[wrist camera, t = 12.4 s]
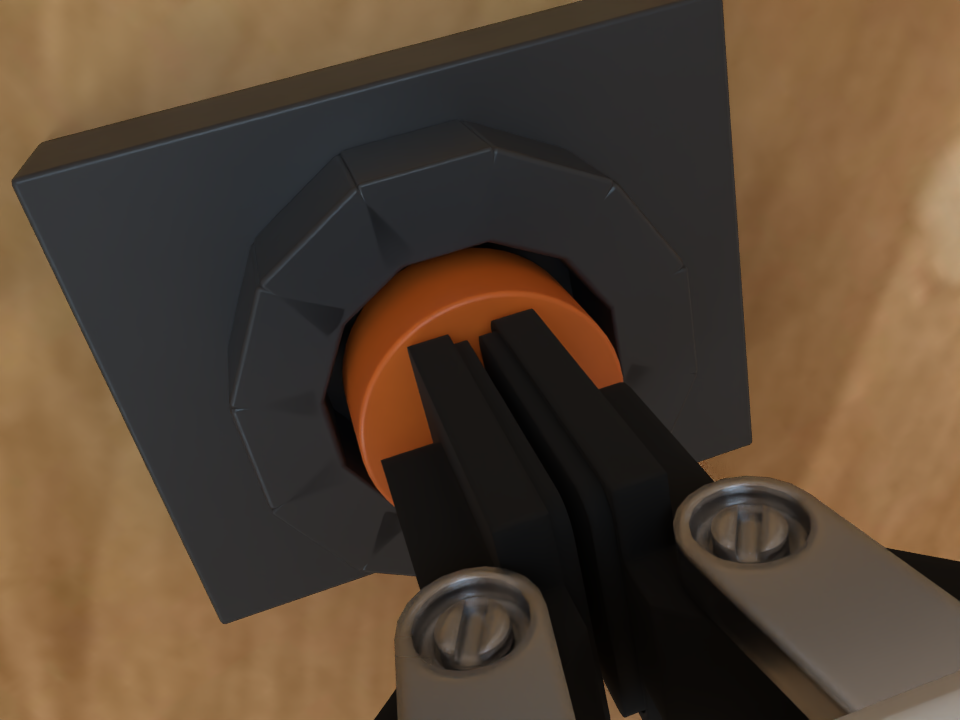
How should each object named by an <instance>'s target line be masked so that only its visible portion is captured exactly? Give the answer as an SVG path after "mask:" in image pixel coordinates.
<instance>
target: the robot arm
mask: <svg viewBox="0 0 960 720" xmlns="http://www.w3.org/2000/svg"><path fill="white" fill-rule="evenodd" d="M491 331H492V332H491V333H488V334H484V335H481V336H479V345H480V350H481V354H482V358H483V363H484V367H485V368H484V367H483V365H482V363H481V362H480V360H479V358H478V357H477V355H476V353H475V352H474V350H473V348H472V347H471V345H470V343H469V342H468V340H465V341H462V342H459V343H455V344H454V343H453V342H452V340H451V338H450V336H449V335H448V334H447V335H444V336H441V337H437V338H434V339H431V340H428V341H425V342H421V343H418V344H415V345H412V346H408V347H407V350H408V354H409V358H410V362H411V365H412V369H413V372H414V376H415V379H416V383H417V387H418V390H419V394H420V397H421V401H422V404H423V408H424V412H425V415H426V419H427V422H428V426H429V429H430V433H431V437H432V440H433V443H432V444H429V445H426V446H423V447H419V448H416V449H413V450H410V451H407V452H404V453H401V454H398V455H395V456H392V457H389V458H386V459H383V460H381V463H382V467H383V470H384V473H385V476H386V480H387V483H388V486H389V490H390V493H391V496H392V499H393V503H394V506H395V509H396V512H397V516H398V519H399V522H400V525H401V529H402V532H403V535H404V538H405V542H406V545H407V548H408V552H409V555H410V558H411V561H412V565H413V568H414V571H415V574H416V578H417V581H418V584H419V587H420V591H419V592H418V593H417V594H416V595H415V596H414V597H413V598H412V599H411V600H410V601H409V602H408V603H407V605H406V607H405V608H404V610H403V612H402V614H401V616H400V617H399V619H398V621H397V627H396V633H395V639H394V641H395V665H396V690H395V691H394V693H393V694H392V695H391V697H390V698H389V700H388V701H387V702H386V704H385V705H384V707H383V708H382V709H381V711H380V712H379V714H378V715H377V716H376V718H375V719H374V720H610V714H609V709H608V704H607V699H606V694H605V689H604V683H603V680H604V682H605V684H606V686H607V688H608V690H609V692H610V694H611V696H612V698H613V700H614V702H615V704H616V706H617V708H618V709H619V711H620V713H621V714H622V716H623V717H627V716H630V715H633V714H635V713H638V712H639V714H640V716H641V718H642V720H960V562H959V561H954V560H948V559H943V558H938V557H932V556H927V555H921V554H916V553H911V552H905V551H900V550H894V549H889V548H885V547H883V546H882V545H880V544H879V543H878V542H876V541H875V540H873V539H872V538H871V537H869V536H868V535H867V534H865V533H864V532H862V531H861V530H860V529H858V528H857V527H855V526H854V525H853V524H851V523H850V522H848V521H847V520H846V519H844V518H843V517H841V516H840V515H839V514H837V513H836V512H834V511H833V510H832V509H830V508H829V507H828V506H826V505H825V504H823V503H822V502H821V501H819V500H818V499H816V498H815V497H814V496H812V495H811V494H809V493H808V492H806V491H804V490H802V489H800V488H798V487H797V486H795V485H793V484H791V483H788V482H784V481H780V480H777V479H773V478H769V477H755V476H741V477H733V478H725V479H721V480H718V481H715V482H714V481H713V480H712V479H711V477H710V476H709V475H708V474H707V473H706V472H705V471H704V470H703V468H702V467H701V466H700V465H699V464H698V463H697V462H696V460H695V459H694V458H693V457H692V456H691V455H690V454H689V453H688V451H687V450H686V449H685V448H684V447H683V446H682V445H681V444H680V442H679V441H678V440H677V439H676V438H675V437H674V436H673V435H672V433H671V432H670V431H669V430H668V429H667V428H666V427H665V425H664V424H663V423H662V422H661V421H660V420H659V419H658V418H657V416H656V415H655V414H654V413H653V412H652V411H651V410H650V409H649V407H648V406H647V405H646V404H645V403H644V402H643V401H642V400H641V398H640V397H639V396H638V395H637V394H636V393H635V392H634V391H633V389H632V388H631V387H630V386H628V385H627V384H626V383H625V382H619V383H616V384H613V385H610V386H607V387H604V388H601V389H598V388H597V387H596V385H595V384H594V383H593V382H592V381H591V379H590V378H589V377H588V376H587V374H586V373H585V372H584V371H583V369H582V368H581V367H580V366H579V365H578V363H577V362H576V361H575V360H574V358H573V357H572V356H571V355H570V354H569V352H568V351H567V350H566V349H565V347H564V346H563V345H562V344H561V342H560V341H559V340H558V339H557V338H556V336H555V335H554V334H553V333H552V331H551V330H550V329H549V328H548V326H547V325H546V324H545V323H544V322H543V320H542V319H541V318H540V317H539V315H538V314H537V313H536V312H535V311H534V310H533V309H532V308H531V309H528V310H525V311H521V312H518V313H515V314H512V315H509V316H505V317H502V318H499V319H496V320H492V321H491Z"/></svg>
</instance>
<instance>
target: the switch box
mask: <svg viewBox="0 0 960 720" xmlns="http://www.w3.org/2000/svg"><path fill="white" fill-rule="evenodd" d="M12 187H13V189H14V191H15V193H16V195H17V197H18V199H19V201H20V203H21V205H22V207H23V210H24V212H25V214H26V216H27V218H28V220H29V222H30V224H31V226H32V228H33V230H34V233H35V235H36V237H37V239H38V241H39V243H40V245H41V247H42V249H43V251H44V253H45V256H46V258H47V260H48V262H49V264H50V266H51V268H52V270H53V272H54V274H55V276H56V279H57V281H58V283H59V285H60V287H61V289H62V291H63V293H64V295H65V297H66V299H67V302H68V304H69V306H70V308H71V310H72V312H73V314H74V316H75V318H76V320H77V322H78V325H79V327H80V329H81V331H82V333H83V335H84V337H85V339H86V341H87V343H88V345H89V348H90V350H91V352H92V354H93V356H94V358H95V360H96V362H97V364H98V366H99V368H100V371H101V373H102V375H103V377H104V379H105V381H106V383H107V385H108V387H109V389H110V391H111V394H112V396H113V398H114V400H115V402H116V404H117V406H118V408H119V410H120V412H121V414H122V417H123V419H124V421H125V423H126V425H127V427H128V429H129V431H130V433H131V435H132V437H133V440H134V442H135V444H136V446H137V448H138V450H139V452H140V454H141V456H142V458H143V460H144V463H145V465H146V467H147V469H148V471H149V473H150V475H151V477H152V479H153V481H154V483H155V486H156V488H157V490H158V492H159V494H160V496H161V498H162V500H163V502H164V504H165V506H166V509H167V511H168V513H169V515H170V517H171V519H172V521H173V523H174V525H175V527H176V530H177V532H178V534H179V536H180V538H181V540H182V542H183V544H184V546H185V548H186V550H187V553H188V555H189V557H190V559H191V561H192V563H193V565H194V567H195V569H196V571H197V573H198V576H199V578H200V580H201V582H202V584H203V586H204V588H205V590H206V592H207V594H208V596H209V599H210V601H211V603H212V605H213V607H214V609H215V611H216V613H217V615H218V617H219V619H220V621H221V622H222V623H223V624H227V623H230V622H233V621H236V620H239V619H242V618H245V617H248V616H251V615H253V614H256V613H259V612H262V611H265V610H268V609H271V608H274V607H277V606H280V605H283V604H286V603H289V602H291V601H294V600H297V599H300V598H303V597H306V596H309V595H312V594H315V593H318V592H321V591H324V590H326V589H329V588H332V587H335V586H338V585H341V584H344V583H347V582H350V581H353V580H356V579H359V578H362V577H364V576H367V575H370V574H373V573H384V574H395V575H407V576H416V574H415V571H414V568H413V565H412V561H411V558H410V555H409V552H408V548H407V545H406V542H405V538H404V535H403V532H402V529H401V525H400V522H399V519H398V516H397V512H396V509H395V507H394V506H393V505H392V504H391V503H390V502H388V501H387V500H386V499H385V497H384V496H383V495H382V494H381V493H380V492H379V490H378V489H377V488H376V486H375V485H374V483H373V482H372V480H371V478H370V477H369V475H368V472H367V470H366V468H365V465H364V463H363V460H362V456H361V453H360V449H359V445H358V442H357V438H356V434H355V431H354V427H353V423H352V420H351V416H350V412H349V409H348V405H347V401H346V397H345V393H344V389H343V378H342V368H343V357H344V352H345V347H346V343H347V340H348V337H349V334H350V331H351V328H352V327H353V325H354V323H355V321H356V319H357V317H358V315H359V313H360V312H361V310H362V309H363V307H364V306H365V305H366V304H367V303H368V302H369V301H370V300H371V299H372V298H373V297H374V296H375V295H376V294H377V293H378V292H379V291H380V290H381V289H382V288H383V287H384V286H385V285H386V284H387V283H388V282H389V281H390V280H391V279H392V278H393V277H394V276H395V275H396V274H397V273H399V272H400V271H402V270H403V269H405V268H406V267H408V266H410V265H412V264H415V263H418V262H422V261H425V260H428V259H432V258H435V257H439V256H442V255H445V254H449V253H452V252H455V251H459V250H462V249H466V248H490V249H496V250H502V251H506V252H510V253H513V254H516V255H519V256H521V257H523V258H526V259H528V260H530V261H532V262H534V263H535V264H537V265H538V266H540V267H541V268H543V269H544V270H546V271H547V272H548V273H549V274H550V275H551V276H552V277H553V278H554V279H556V280H557V282H558V283H559V284H560V285H561V286H562V287H563V288H564V289H565V290H566V291H567V292H568V293H569V294H570V295H571V296H572V298H573V299H574V300H575V301H576V302H577V303H578V304H579V305H580V306H581V307H582V308H583V309H584V310H585V311H586V312H587V314H588V315H589V316H590V317H591V318H592V319H593V320H594V321H595V322H596V323H597V324H598V326H599V327H600V328H601V329H602V330H603V332H604V333H605V334H606V335H607V337H608V339H609V340H610V342H611V344H612V346H613V347H614V349H615V352H616V354H617V357H618V359H619V362H620V366H621V371H622V375H623V382H625V383H626V384H627V385H628V386H630V387H631V388H632V389H633V391H634V392H635V393H636V394H637V395H638V396H639V397H640V398H641V400H642V401H643V402H644V403H645V404H646V405H647V406H648V407H649V409H650V410H651V411H652V412H653V413H654V414H655V415H656V416H657V418H658V419H659V420H660V421H661V422H662V423H663V424H664V425H665V427H666V428H667V429H668V430H669V431H670V432H671V433H672V435H673V436H674V437H675V438H676V439H677V440H678V441H679V442H680V444H681V445H682V446H683V447H684V448H685V449H686V450H687V451H688V453H689V454H690V455H691V456H692V457H693V458H694V459H695V460H696V462H700V461H703V460H706V459H709V458H712V457H715V456H718V455H721V454H724V453H726V452H729V451H732V450H735V449H738V448H741V447H744V446H747V445H750V444H751V443H752V430H751V416H750V401H749V386H748V371H747V356H746V342H745V327H744V312H743V297H742V283H741V268H740V253H739V238H738V223H737V209H736V194H735V179H734V164H733V150H732V135H731V120H730V105H729V90H728V76H727V61H726V46H725V31H724V17H723V2H722V0H582V1H578V2H574V3H570V4H567V5H563V6H559V7H555V8H551V9H548V10H544V11H540V12H536V13H532V14H529V15H525V16H521V17H517V18H513V19H509V20H506V21H502V22H498V23H494V24H490V25H487V26H483V27H479V28H475V29H471V30H468V31H464V32H460V33H456V34H452V35H449V36H445V37H441V38H437V39H433V40H430V41H426V42H422V43H418V44H414V45H411V46H407V47H403V48H399V49H395V50H392V51H388V52H384V53H380V54H376V55H373V56H369V57H365V58H361V59H357V60H354V61H350V62H346V63H342V64H338V65H335V66H331V67H327V68H323V69H319V70H315V71H312V72H308V73H304V74H300V75H296V76H293V77H289V78H285V79H281V80H277V81H274V82H270V83H266V84H262V85H258V86H255V87H251V88H247V89H243V90H239V91H236V92H232V93H228V94H224V95H220V96H217V97H213V98H209V99H205V100H201V101H198V102H194V103H190V104H186V105H182V106H179V107H175V108H171V109H167V110H163V111H160V112H156V113H152V114H148V115H144V116H141V117H137V118H133V119H129V120H125V121H121V122H118V123H114V124H110V125H106V126H102V127H99V128H95V129H91V130H87V131H83V132H80V133H76V134H72V135H68V136H64V137H61V138H57V139H53V140H49V141H45V142H42V143H41V144H39V145H38V147H37V148H36V149H35V151H34V152H33V153H32V154H31V156H30V157H29V158H28V160H27V161H26V162H25V164H24V165H23V166H22V167H21V169H20V170H19V171H18V173H17V174H16V175H15V177H14V178H13V179H12Z"/></svg>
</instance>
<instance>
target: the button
mask: <svg viewBox="0 0 960 720" xmlns="http://www.w3.org/2000/svg"><path fill="white" fill-rule="evenodd" d="M531 308H532V309H533V310H534V311H535V312H536V313H537V314H538V315H539V317H540V318H541V319H542V320H543V322H544V323H545V324H546V325H547V326H548V328H549V329H550V330H551V331H552V333H553V334H554V335H555V336H556V338H557V339H558V340H559V341H560V342H561V344H562V345H563V346H564V347H565V349H566V350H567V351H568V352H569V354H570V355H571V356H572V357H573V358H574V360H575V361H576V362H577V363H578V365H579V366H580V367H581V368H582V369H583V371H584V372H585V373H586V374H587V376H588V377H589V378H590V379H591V381H592V382H593V383H594V384H595V385H596V387H597V388H598V389H601V388H604V387H607V386H610V385H613V384H616V383H619V382H623V375H622V371H621V366H620V362H619V359H618V357H617V354H616V352H615V349H614V347H613V346H612V344H611V342H610V340H609V339H608V337H607V335H606V334H605V333H604V332H603V330H602V329H601V328H600V327H599V326H598V324H597V323H596V322H595V321H594V320H593V319H592V318H591V317H590V316H589V315H588V314H587V312H586V311H585V310H584V309H583V308H582V307H581V306H580V305H579V304H578V303H577V302H576V301H575V300H574V299H573V298H572V296H571V295H570V294H569V293H568V292H567V291H566V290H565V289H564V288H563V287H562V286H561V285H560V284H559V283H558V282H557V280H556V279H554V278H553V277H552V276H551V275H550V274H549V273H548V272H547V271H546V270H544V269H543V268H541V267H540V266H538V265H537V264H535V263H534V262H532V261H530V260H528V259H526V258H523V257H521V256H519V255H516V254H513V253H510V252H506V251H502V250H496V249H490V248H466V249H462V250H459V251H455V252H452V253H449V254H445V255H442V256H439V257H435V258H432V259H428V260H425V261H422V262H418V263H415V264H412V265H410V266H408V267H406V268H405V269H403V270H402V271H400V272H399V273H397V274H396V275H395V276H394V277H393V278H392V279H391V280H390V281H389V282H388V283H387V284H386V285H385V286H384V287H383V288H382V289H381V290H380V291H379V292H378V293H377V294H376V295H375V296H374V297H373V298H372V299H371V300H370V301H369V302H368V303H367V304H366V305H365V306H364V307H363V309H362V310H361V312H360V313H359V315H358V317H357V319H356V321H355V323H354V325H353V327H352V328H351V331H350V334H349V337H348V340H347V343H346V347H345V352H344V357H343V368H342V378H343V389H344V393H345V397H346V401H347V405H348V409H349V412H350V416H351V420H352V423H353V427H354V431H355V434H356V438H357V442H358V445H359V449H360V453H361V456H362V460H363V463H364V465H365V468H366V470H367V472H368V475H369V477H370V478H371V480H372V482H373V483H374V485H375V486H376V488H377V489H378V490H379V492H380V493H381V494H382V495H383V496H384V497H385V499H386V500H387V501H388V502H390V503H391V504H392V505H393V506H394V503H393V499H392V496H391V493H390V490H389V486H388V483H387V480H386V476H385V473H384V470H383V467H382V463H381V460H383V459H386V458H389V457H392V456H395V455H398V454H401V453H404V452H407V451H410V450H413V449H416V448H419V447H423V446H426V445H429V444H432V443H433V440H432V437H431V433H430V429H429V426H428V422H427V419H426V415H425V412H424V408H423V404H422V401H421V397H420V394H419V390H418V387H417V383H416V379H415V376H414V372H413V369H412V365H411V362H410V358H409V354H408V350H407V347H408V346H412V345H415V344H418V343H421V342H425V341H428V340H431V339H434V338H437V337H441V336H444V335H447V334H448V335H449V336H450V338H451V340H452V342H453V343H454V344H455V343H459V342H462V341H465V340H468V342H469V343H470V345H471V347H472V348H473V350H474V352H475V353H476V355H477V357H478V358H479V360H480V362H481V363H482V365H483V367H484V363H483V358H482V354H481V350H480V345H479V336H481V335H484V334H488V333H491V332H492V331H491V321H492V320H496V319H499V318H502V317H505V316H509V315H512V314H515V313H518V312H521V311H525V310H528V309H531ZM484 368H485V367H484ZM394 507H395V506H394Z"/></svg>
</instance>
